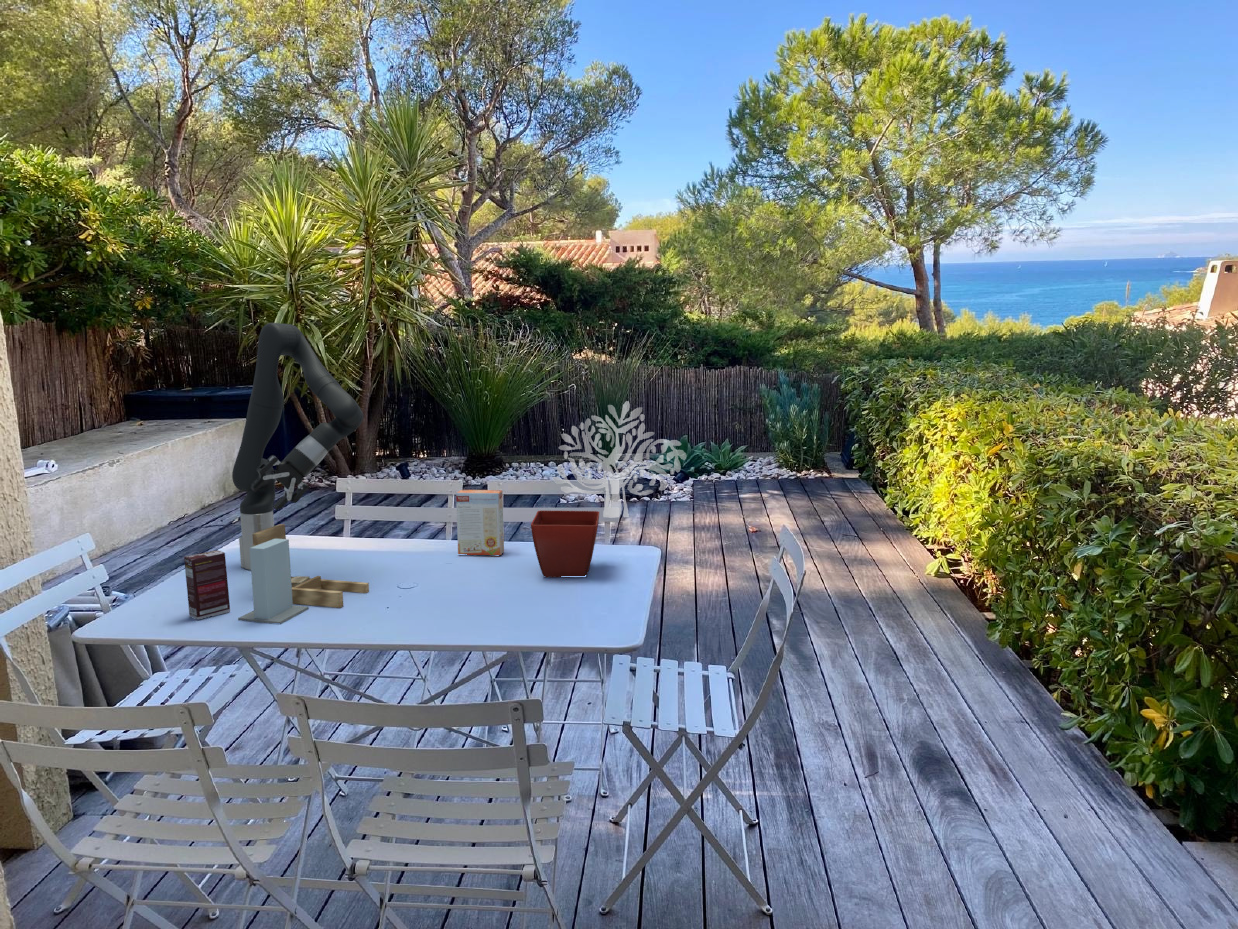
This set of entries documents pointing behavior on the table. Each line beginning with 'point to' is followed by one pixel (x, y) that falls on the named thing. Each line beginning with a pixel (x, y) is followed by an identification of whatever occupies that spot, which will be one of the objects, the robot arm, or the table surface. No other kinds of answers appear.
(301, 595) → the frame
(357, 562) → the table surface
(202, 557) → the supplement box
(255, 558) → the upright blue-grey block
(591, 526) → the plant pot
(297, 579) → the offcut slab upper
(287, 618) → the mat
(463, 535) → the cracker box
